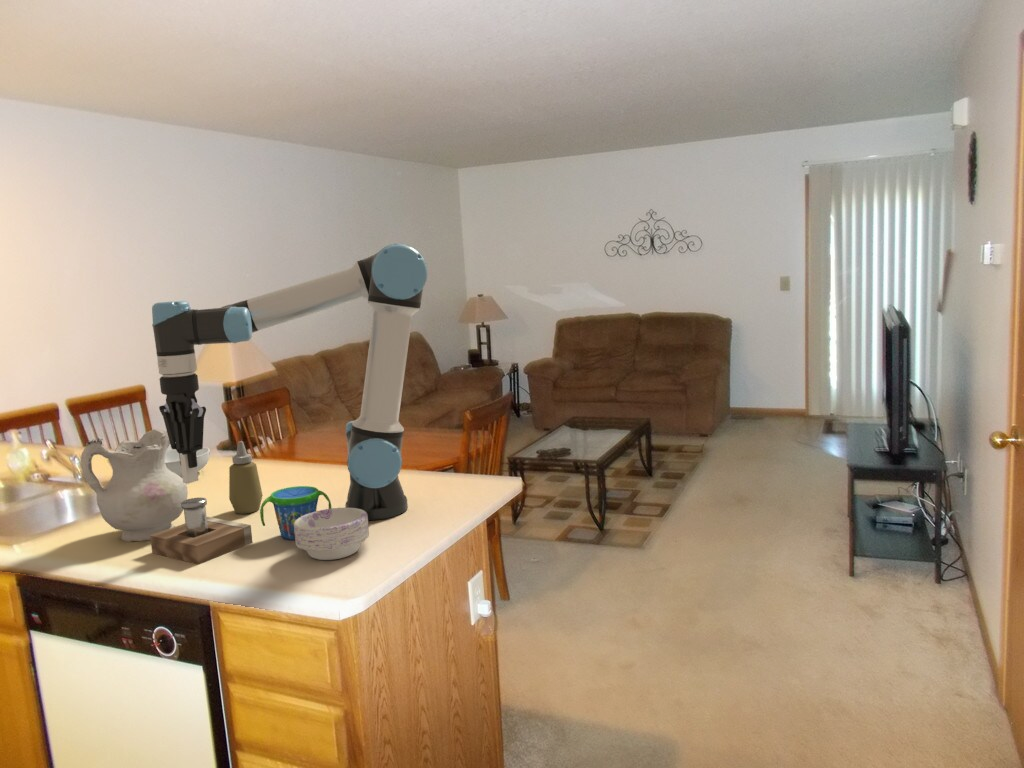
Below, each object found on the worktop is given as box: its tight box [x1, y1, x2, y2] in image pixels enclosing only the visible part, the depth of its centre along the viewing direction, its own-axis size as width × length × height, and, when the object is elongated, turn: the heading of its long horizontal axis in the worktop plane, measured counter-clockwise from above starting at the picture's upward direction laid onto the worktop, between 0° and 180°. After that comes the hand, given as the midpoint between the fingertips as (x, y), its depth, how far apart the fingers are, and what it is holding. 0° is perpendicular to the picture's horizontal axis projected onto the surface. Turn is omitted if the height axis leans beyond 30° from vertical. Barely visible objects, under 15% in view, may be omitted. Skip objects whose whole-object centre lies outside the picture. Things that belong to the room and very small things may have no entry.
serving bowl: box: [165, 446, 211, 478], centre depth 242 cm, size 21×21×7 cm
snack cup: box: [259, 485, 333, 541], centre depth 179 cm, size 16×10×10 cm
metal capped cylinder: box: [181, 497, 208, 538], centre depth 173 cm, size 5×5×11 cm
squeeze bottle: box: [228, 440, 263, 515], centre depth 200 cm, size 8×8×18 cm
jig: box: [149, 516, 253, 565], centre depth 175 cm, size 16×14×4 cm
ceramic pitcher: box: [80, 428, 189, 543], centre depth 185 cm, size 22×20×25 cm
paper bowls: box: [294, 507, 370, 561], centre depth 167 cm, size 15×15×8 cm
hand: (190, 481), depth 172 cm, fingers closed
